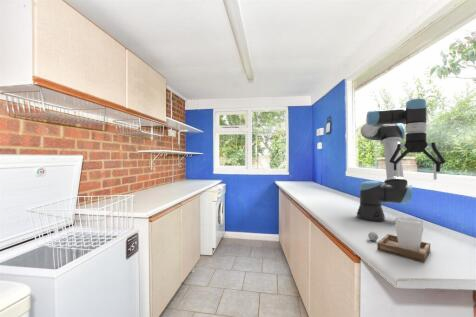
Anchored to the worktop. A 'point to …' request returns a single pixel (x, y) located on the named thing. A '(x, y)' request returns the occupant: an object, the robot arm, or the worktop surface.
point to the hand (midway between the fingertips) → (415, 178)
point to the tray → (391, 246)
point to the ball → (373, 236)
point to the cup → (409, 233)
